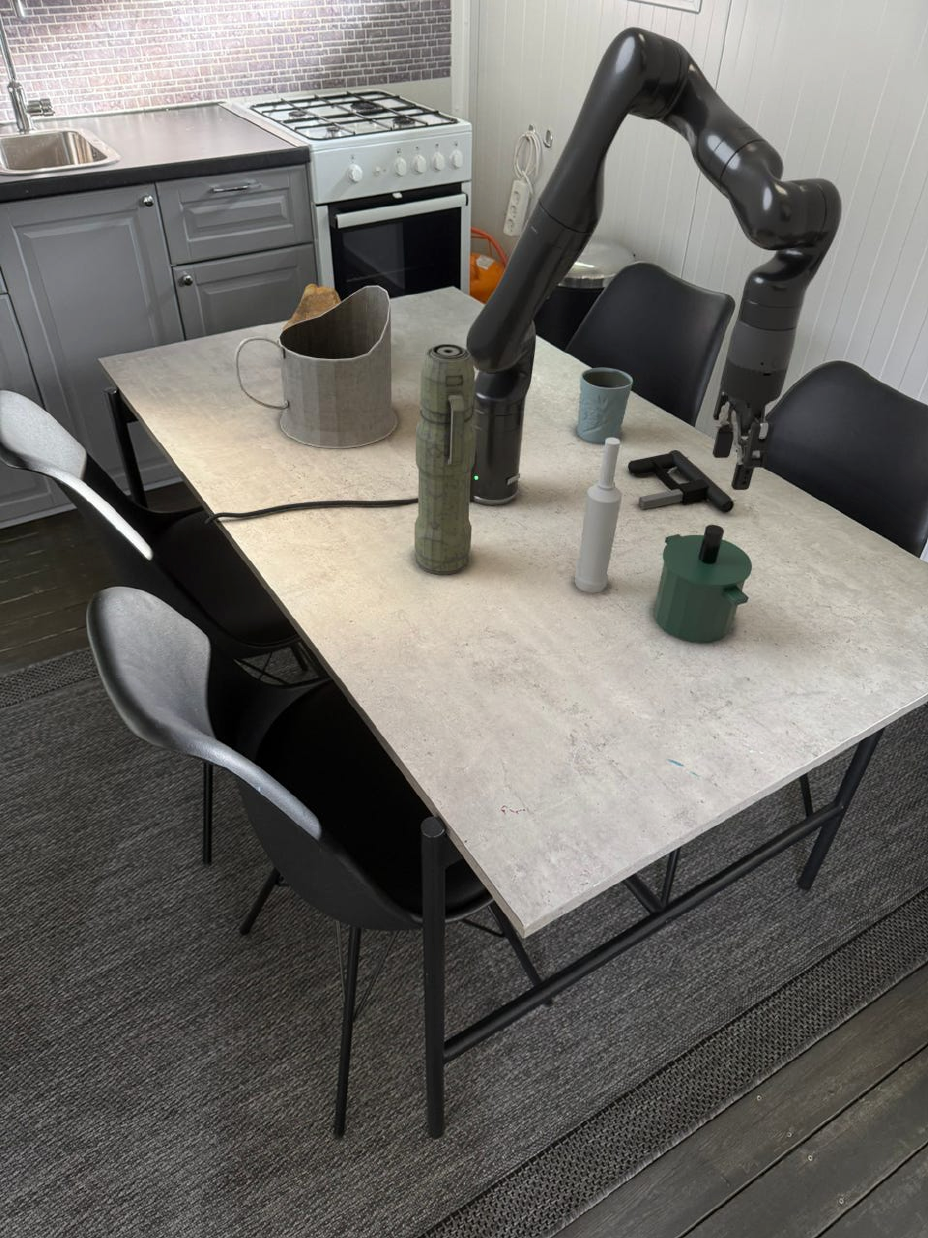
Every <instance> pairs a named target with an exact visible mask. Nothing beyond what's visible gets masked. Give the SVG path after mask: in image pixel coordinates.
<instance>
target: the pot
mask: <svg viewBox="0 0 928 1238" xmlns="http://www.w3.org/2000/svg"><path fill="white" fill-rule="evenodd" d="M678 537H681V534H680V533H677V534H673V535H667V536H665V537H664V538H665V539H664V543H665V544H666V545H667V544H668V543H669V542H670V541H672V540H673V539H675V538H678ZM745 582H746V580H745V581H744V582H742V583H740V584H738V585H735V586H731V587H724V588H714V587H705V586H700V585H697V584H693V583H690V582H688V581H686V580H683V579H681V578H680V577H678V576H677V575H675V574H674V573H673V572H671V571H670V570H669V569H668V568H667V566H666V565H665V563H664V562H663V565H662V569H661V574H660V579H659V583H658V587H657V588H658V589H657V593H656V598H655V601H654V607H653V618H654V621H655V622H656V624H657V625H658V627H659V628H660V629H662V631H664V632H665V633H666V634H668V635H670V637H674V638H675V639H678V640H680V641H684V642H688V643H693V644H709V643H715V642H718V641H720V640H723V639H724V638H726V637H727V636H728V635H729V634H730V632H731V630H732V627H733V623H734V620H735V616H736V613H737V610H738V607H739V606H740V605H744V604H747V603H748V601H749V598H750V596H748V595H747V594H746V593H745V592H744V591H743V589H744V585H745Z"/></svg>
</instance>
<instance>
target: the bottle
mask: <svg viewBox="0 0 928 1238" xmlns="http://www.w3.org/2000/svg"><path fill="white" fill-rule="evenodd" d="M620 445H621V440H620V439H619V438H618V439H617V438H607V439H606V441H605V444H604V447H603V457H602V464H601V471H600V475H599V476H600V477H599V480H597V482H596V483H595V484H593V485H591V486H590V487H589V488H587V490H586V497H585V504H584V505H585V506H584V514H583V521H582V529H581V539H580V548H579V554H578V555H579V556H578V564H577V569H576V570H575V574H574V583H575V585H576V587H577V588H578V589H579V590H580V591H582V592H584V593H589V594H597V593H601V592H602V591H604V589H606V587H607V584H608V581H609V575H608V569H609V565H610V560H611V555H612V549H613V544H614V539H615V534H616V529H617V524H618V518H619V513H620V507H621V503H622V498H623V493H622V491H621V490H620V489H619V488H618V487H617V486H616V483H615V481H614V480H615V475H616V467H617V461H618V455H619V450H620Z"/></svg>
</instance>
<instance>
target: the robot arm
mask: <svg viewBox="0 0 928 1238" xmlns="http://www.w3.org/2000/svg"><path fill="white" fill-rule="evenodd" d="M628 115H630V116H633V117H638V118H640V119H643V120H648V121H656V122H658V123H661V124H662V125H664V126H666V127H668V128H669V129H671V130H673V131H675V132H676V133H678V135H680V136H681V137H683V139H684V140H685V141H686V142H687V144H688V146H689V148H690V152H691V156H692V159H693V160H694V163H695V164H696V167H697V168H698V170H699V171H700V173H701V174H702V175H703V176H704V177H705V178H706V179H707V180H708V182H709V183H710V184H711V185H712V186H714V187H715V188H716V190H717V191H718V192H719V193H721V194H722V196H723V197H724V198H725V199H727V200H728V201H729V204H730V206H731V209H732V211H733V214H734V215H735V218H736V219H737V222H738V224H739V226H740V228H741V230H742V233H743V234H744V235H745V237H746V239H747V240H749V241H750V242H751V244H753V245H755V246H756V247H758V248H760V249H762V250H765V251H772V252H775V253H774V255H773V256H772V257H771V258H770V259H769V260H768V261H766V262H764V263H763V264H760V265H758V266H757V267H755V268H754V269H752V270H751V271H749V274H748V275H747V277H746V279H745V283H744V287H743V291H742V295H741V301H740V304H739V309H738V312H737V317H736V321H735V323H734V326H733V328H732V331H731V335H730V338H729V343H728V346H727V347H728V348H727V352H726V356H725V361H724V365H723V370H722V374H721V379H720V383H719V385H720V386H719V391H718V394H717V398H716V402H715V406H714V410H713V414H712V418H713V421H716V424H715V429H716V435H715V439H714V445H713V449H712V455H713V457H714V458H715V459H728V458H729V457H730V455H731V451H732V447H735V448H736V449H737V450H736V451H737V455H736V457H737V461H736V463H735V468H734V471H733V474H732V475H733V476H732V479H731V483H730V486H731V488H732V489H733V490H734V491H746V490H749V488H750V486H751V482H752V478H753V474H754V471H755V468H756V469H757V468H762V469H764V468H765V466H766V463H767V459H768V455H769V450H770V447H771V443H772V438H773V434H774V430H775V423H774V421H766V407H767V406H768V405H769V404H770V403H772V402H775V401H776V400H778V399H779V398H780V396H781V395H782V391H783V388H784V384H785V381H786V378H787V373H788V370H789V365H790V362H791V358H792V355H793V350H794V347H795V342H796V335H797V330H798V329H797V328H798V325H799V321H800V317H801V313H802V309H803V306H804V303H805V302H804V301H805V299H806V298H805V297H806V293H807V290H808V288H809V286H810V285H811V283H812V282H813V280H814V278H815V276H816V275H817V273H818V271H819V269H820V268H821V265H822V263H823V261H824V260H825V257H826V256H827V254H828V252H829V250H830V248H831V247H832V244H833V242H834V240H835V238H836V236H837V233H838V231H839V228H840V225H841V220H842V211H843V206H842V203H843V202H842V198H841V194H840V191H839V189H838V188H837V186H836V185H835V184H834V183H833V182H832V181H830V180H829V179H827V178H822V177H821V178H820V177H813V178H812V177H811V178H802V179H793V180H782V179H783V174H784V161H783V159H782V156H781V155H780V154H779V153H780V152H778V151H777V149H775V147H774V146H773V145H772V144H770V143H769V141H768V140H766V139H765V138H764V137H763V136H762V135H761V134H760V133H759V132H757V130H756V129H754V128H753V127H752V126H751V125H750V124H749V123H747V122H746V121H745V120H744V119H743V118H741V116H740V115H738V114H737V113H736V112H735V111H734V110H733V109H732V108H731V107H730V106H729V105H728V104H727V103H726V102H725V100H723V98H722V97H721V96H720V95H719V94H718V92H717V91H716V90H715V88H714V87H713V85H711V83H710V82H709V81H708V79H707V77H706V76H705V74H704V73H703V70H701V68H700V66H699V65H698V64H697V62H696V61H695V58H694V57H693V56H692V55H691V54H690V52H689V51H688V50H687V49H686V48H685V46H683V45H682V44H681V43H680V42H678V41H676V40H674V39H672V38H669V37H667V36H664V35H662V34H658V33H656V32H653V31H650V30H648V29H644V28H641V27H638V26H637V27H636V26H630V27H627V28H625V29H623V30H622V31H620V32H619V33H618V34H617V35H616V36H614V38H613V39H612V41H611V42H610V43H609V45H608V47H607V48H606V49H605V52H604V53H603V55H602V57H601V59H600V61H599V64H598V66H597V68H596V70H595V73H594V76H593V77H592V79H591V82H590V85H589V88H588V90H587V93H586V95H585V98H584V100H583V102H582V105H581V108H580V110H579V112H578V115H577V118H576V120H575V123H574V125H573V127H572V130H571V132H570V135H569V137H568V138H567V141H566V143H565V145H564V147H563V149H562V152H561V153H560V155H559V158H558V159H557V162H556V164H555V166H554V168H553V170H552V172H551V174H550V176H549V178H548V180H547V182H546V184H545V185H544V187H543V189H542V191H541V192H540V194H539V196H538V198H537V199H536V202H535V204H534V206H533V208H532V210H531V212H530V214H529V216H528V218H527V220H526V223H525V225H524V227H523V229H522V231H521V233H520V235H519V237H518V239H517V241H516V244H515V246H514V248H513V250H512V252H511V255H510V257H509V259H508V262H507V264H506V266H505V268H504V271H503V273H502V275H501V278H500V279H499V281H498V283H497V285H496V287H495V289H494V290H493V292H492V293H491V295H490V296H489V298H488V300H487V301H486V303H485V304H484V306H483V307H482V309H481V310H480V312H479V314H477V316H476V318H475V320H474V321H473V323H471V326H470V327H469V329H468V332H467V335H466V339H465V340H466V341H465V349H466V350H468V351H469V353H470V356H471V360H472V363H473V367H474V369H475V370H477V371H478V373H477V375H476V376H475V381H474V401H473V406H472V413H473V423H474V427H475V430H476V445H475V463H474V466H473V468H472V470H471V480H470V500H469V502H470V501H473V502H476V503H479V504H481V505H488V506H501V505H505V504H508V503H511V502H512V501H514V500H515V499H516V498H517V497H518V495H519V494H518V493H519V479H521V472H520V466H521V464H520V463H521V453H522V443H523V442H522V441H523V432H524V421H525V420H524V419H525V408H526V399H527V395H528V393H529V389H530V387H531V383H532V377H533V370H534V363H535V356H536V355H535V353H536V344H537V332H536V331H537V330H536V325H535V322H534V319H535V317H536V316H537V313H538V312H539V310H540V308H542V306H543V304H544V303H545V302H546V300H548V298H549V297H550V296H551V295H552V293H553V292H554V291H555V289H556V288H557V287H558V286H559V285H560V283H561V282H562V281H563V279H565V277H566V276H567V275H568V274H569V272H570V271H571V269H572V268H573V267H574V265H575V264H576V262H577V261H578V259H579V258H580V257H581V255H582V254H583V252H584V250H585V249H586V247H587V245H588V243H589V242H590V240H591V238H592V236H593V235H594V232H595V231H596V230H597V227H598V226H599V223H600V221H601V219H602V216H603V213H604V212H603V211H604V206H605V205H604V204H605V182H606V181H605V173H606V172H605V171H606V161H607V157H608V154H609V151H610V148H611V146H612V144H613V141H614V140H615V137H616V136H617V133H618V131H619V129H620V128H621V126H622V124H623V122H624V121H625V120H626V118H627V116H628ZM743 437H744V438H743ZM745 437H746V438H747V437H748V439H745ZM416 503H417V504H418V497H416V498H410V499H409V498H408V499H386V500H385V499H384V500H355V499H354V500H351V499H350V500H348V499H346V500H345V499H344V500H343V499H341V500H320V501H319V500H317V501H305V502H295V503H288V504H282V505H277V506H271V507H267V508H262V509H258V510H257V509H256V510H253V511H247V512H227V511H226V512H225V511H221V512H217V513H214V514H212V515H211V516H209V517H207V519H206V520H205V521H204V524H206V525H208V524H212V523H213V522H214V521H215V520H217V519H220V518H232V519H244V518H251V517H256V516H262V515H266V514H271V513H276V512H281V511H285V510H292V509H293V510H294V509H301V508H311V507H328V506H329V507H331V506H368V507H370V506H371V507H373V506H374V507H377V506H378V507H379V506H396V505H397V506H400V505H401V506H402V505H412V504H416Z"/></svg>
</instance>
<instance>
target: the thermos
mask: <svg viewBox="0 0 928 1238" xmlns="http://www.w3.org/2000/svg"><path fill="white" fill-rule="evenodd" d="M424 355H425V356H424V358H423V361H422V364H421V367H420V384H419V385H420V390H419V391H420V397H419V398H420V399H419V401H420V402H419V403H420V406H421V409H420V411H419V419H418V422H417V424H416V428H415V465H416V467H417V469H418V492H417V493H418V495H417V498H418V502H417V505H418V506H417V512H418V514H417V517H416V519H415V522H414V550H415V563H416V565H417V566H418V568H419V569H421V570H422V571H424V572H426V573H429V574H431V575H437V576H450V575H454V574H457V573H461V572H462V571H464V569H465V568H466V567H468V565H469V562H470V551H471V546H472V530H473V529H472V524H471V521H470V519H469V517H470V501H469V500H470V480H471V470H472V468H473V466H474V463H475V445H476V430H475V427H474V423H473V413H472V406H473V401H474V381H475V379H476V372H475V371H476V370H475V367H474V366H473V363H472V360H471V356H470V353H469V351H468V350H467V349H466V348H465V347H462V346H460V345H458V344H454V343H442V344H437V345H435V346H431V347H430V348H428V349H427V351H426V353H425V354H424Z"/></svg>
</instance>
